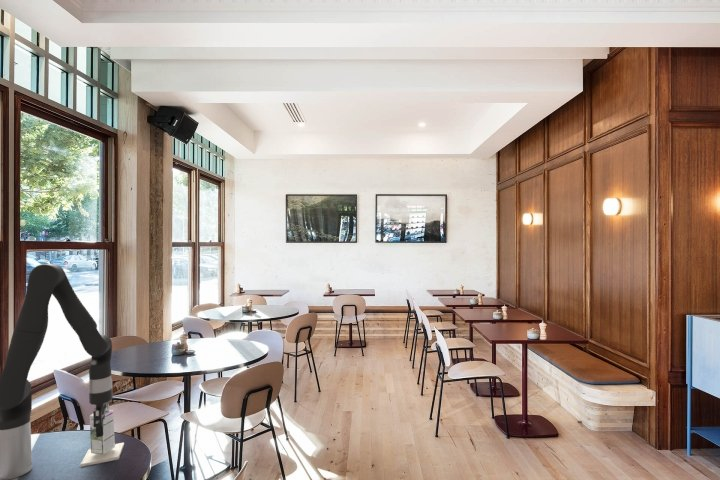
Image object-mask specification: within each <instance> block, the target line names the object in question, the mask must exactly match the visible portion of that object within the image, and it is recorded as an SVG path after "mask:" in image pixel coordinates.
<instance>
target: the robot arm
mask: <svg viewBox="0 0 720 480" xmlns="http://www.w3.org/2000/svg"><path fill="white" fill-rule="evenodd" d="M52 296H53V297H54V299H56V301H57V303H58V304H59V306H60V309H61V311H62V313H63V315H64V317H65V319H66V321H67V323H68V324H69V325H70V326H69V327H71V329H72V330H73V331H74V332H75V333H76V335H77V336H78V339H79V342H80V344H81V346H82V347H83V349H84V351H85V352H86V353H87V354H88V355H89V356H90V357H91V361H90V363H89V366H88V367H89V368H88V378H89V381H88V394H89V395H88V399H89V401H88V402H89V404H90V405H94V406H95V408H94V410H93V412H92V414H93V418H94V428H95V427H96V437H101V436H103V422H104V420H105V415H106V411H107V410H110V402H111V401H112V400H113V397H114V396H113V379H112V378H113V377H112V366H111V359H112V351H113V342H112V340H111V338H110V336H108V335H107V334H101V333H100V332H99V330H98V325H97V322H96V321H95V319H94V317H92V315H91V314H90V312H89V311H88V309H86V307H85V306H84V304H83V303H82V301H81V300H80V299H79V297H78V295H77V294H76V292H75V290H74V289H73V286H72V285H71V283H70V280H69V278H68V276H67V274H66V272H65V271H64V269H63V267H62V266H60V265H59V264H55V263H41V264H39V265H36V266H35V267H33V268H32V270H31V271H30V273H29V275H28V280H27V285H26V291H25V297H24V300H23V303H22V307H21V308H20V312H19V315H18V317H17V320H16V323H15V326H14V329H13V332H12V335H11V338H10V339H11V340H10V343H9V346H8V350H7V354H6V358H5V364H4V366H3V370H2V372H1V375H0V480H11V479H15V478H19V477H21V476H23V475H25V474H27V473H29V472H30V471H31V470H32V469H33V458H32V454H33V453H32V452H33V451H32V435H31V434H32V428H31V414H32V406H33V404H32V403H33V402H32V399H33V398H32V395H33V394H32V385H31V382H30V380H28V376H29V372H30V370H31V367H32V365H33V363H34V361H35V359H36V358H37V356H38V353H39V352H40V349H41V348H42V345H43V343H44V340H45V337H46V334H47V331H48V325H49V305H50V301H51V298H52ZM102 415H103V418H102ZM99 420H100V423H97V422H98V421H99Z"/></svg>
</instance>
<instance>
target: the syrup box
mask: <svg viewBox="0 0 720 480" xmlns="http://www.w3.org/2000/svg"><path fill="white" fill-rule="evenodd" d="M102 418H103V415H102ZM114 418H115V416H114V410H113V409H109V410H107V411H106V415H105V420H104V422H103V436H101V437H96V427H95V428H94V418H93V413H92V414H90V415H89V431H90V433H89V434H90V449H91V453H95V454H105V453H107V452H108V451H110V450H111V449H113V448H115V444H116V443H115V419H114ZM97 423H100V420H99V421H98V422H97Z"/></svg>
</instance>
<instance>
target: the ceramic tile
mask: <svg viewBox="0 0 720 480" xmlns="http://www.w3.org/2000/svg"><path fill="white" fill-rule="evenodd" d="M124 447H125V442H119V443H115V448H113V449H111V450H110V451H108V452H107V453H105V454H95V453H91V448H88V450H87V452H86V454H85V456H84V457H83V459H82V460H81V462H80V468H81V467H87V466H92V465H98V464H101V463H106V462H107V463H108V462H112V461H118V460H120V458H121V455H122V452H123V450H124Z"/></svg>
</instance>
